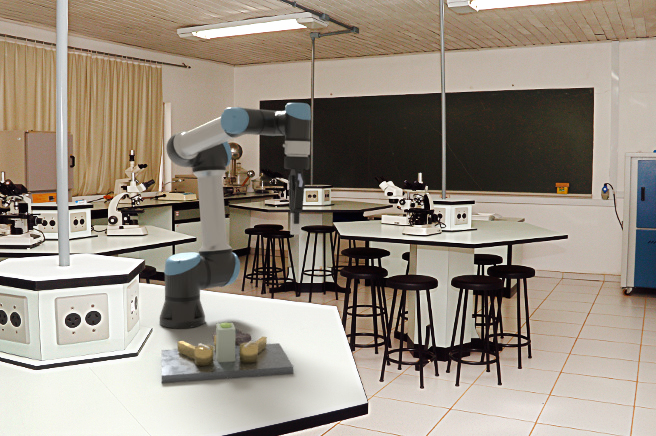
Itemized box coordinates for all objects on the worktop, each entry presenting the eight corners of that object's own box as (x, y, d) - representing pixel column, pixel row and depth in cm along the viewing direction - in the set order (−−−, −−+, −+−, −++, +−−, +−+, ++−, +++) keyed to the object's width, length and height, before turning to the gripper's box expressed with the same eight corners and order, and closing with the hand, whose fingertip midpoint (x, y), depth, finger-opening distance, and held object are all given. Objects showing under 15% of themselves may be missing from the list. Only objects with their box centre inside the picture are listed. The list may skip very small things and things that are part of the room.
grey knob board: (161, 356, 172) (161, 336, 172) (279, 349, 181) (279, 330, 181) (161, 383, 153) (161, 360, 153) (293, 373, 162) (293, 352, 162)
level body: (216, 355, 169) (216, 321, 168) (232, 353, 171) (232, 320, 170) (217, 362, 164) (218, 327, 163) (235, 361, 165) (235, 326, 164)
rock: (249, 349, 181) (249, 334, 181) (211, 349, 181) (211, 334, 180) (251, 341, 189) (252, 327, 189) (215, 341, 189) (215, 326, 188)
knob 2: (253, 363, 163) (254, 346, 162) (236, 361, 164) (236, 344, 164) (272, 347, 177) (272, 331, 176) (256, 345, 178) (256, 329, 178)
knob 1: (217, 362, 163) (217, 345, 162) (201, 366, 159) (201, 349, 159) (187, 349, 173) (187, 333, 172) (172, 352, 169) (172, 336, 169)
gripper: (280, 155, 186) (278, 231, 188) (289, 155, 173) (287, 237, 176) (304, 155, 188) (302, 231, 190) (314, 156, 175) (312, 237, 178)
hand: (295, 234), depth 183 cm, fingers closed
